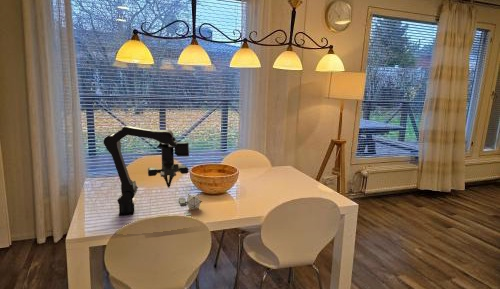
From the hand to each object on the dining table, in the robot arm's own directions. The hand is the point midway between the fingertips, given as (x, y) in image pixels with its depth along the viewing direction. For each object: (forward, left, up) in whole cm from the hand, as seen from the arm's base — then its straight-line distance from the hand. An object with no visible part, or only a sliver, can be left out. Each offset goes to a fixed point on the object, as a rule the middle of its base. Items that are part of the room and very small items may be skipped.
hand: (168, 187), depth 164 cm
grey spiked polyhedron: (+12, 0, -13) cm, 18 cm away
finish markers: (+8, +2, -13) cm, 15 cm away
